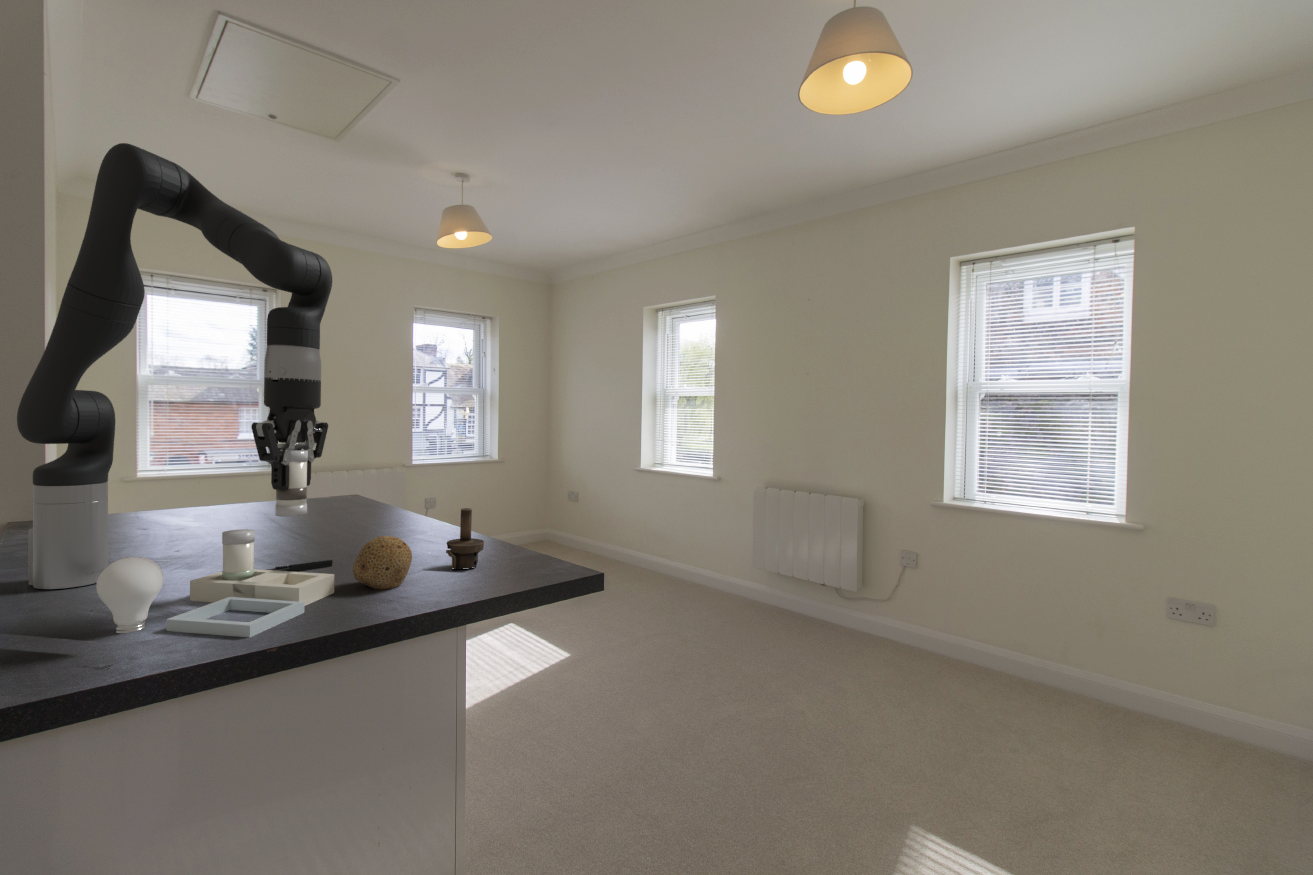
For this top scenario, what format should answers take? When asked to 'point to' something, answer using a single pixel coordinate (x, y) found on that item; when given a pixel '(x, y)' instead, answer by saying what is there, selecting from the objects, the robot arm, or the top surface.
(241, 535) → the fuse
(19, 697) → the top surface
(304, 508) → the cream and grey canister
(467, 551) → the industrial component
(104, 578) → the light bulb
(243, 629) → the tray
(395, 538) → the natural sponge
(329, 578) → the cream divided tray
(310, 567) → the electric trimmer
